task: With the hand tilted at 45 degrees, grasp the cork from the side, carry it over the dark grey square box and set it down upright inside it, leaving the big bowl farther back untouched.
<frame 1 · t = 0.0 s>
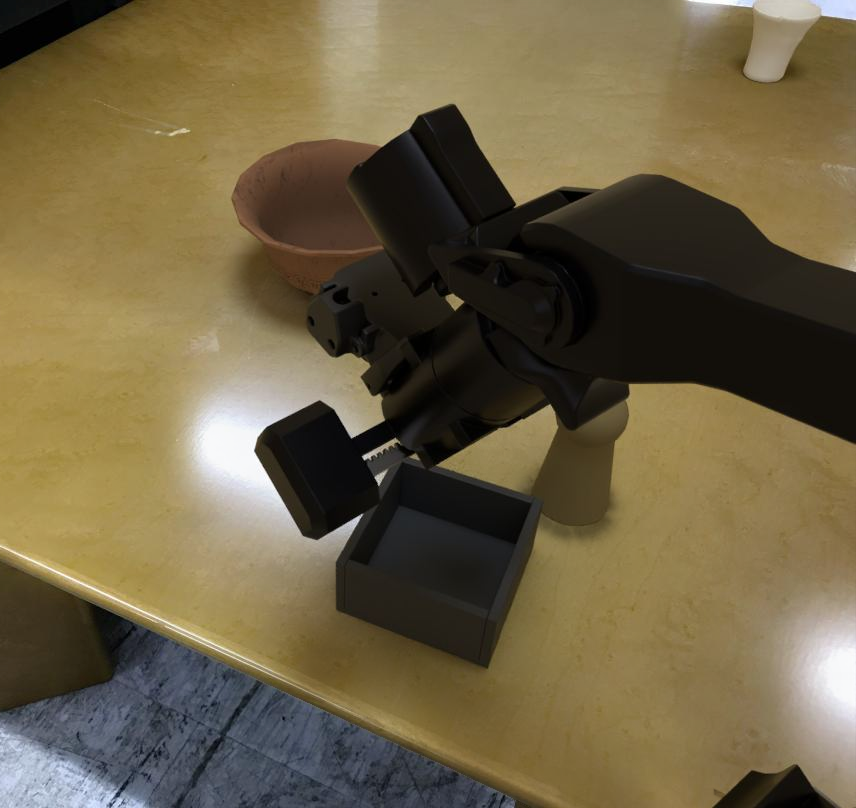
hand: (370, 454, 57), 14 cm above the table, tool tilted 35°, fingers open, 9 cm apart
dark grey square box: (437, 578, 67), on the table
cup: (764, 77, 131), on the table
cork: (569, 498, 72), on the table
bowl: (343, 282, 95), on the table
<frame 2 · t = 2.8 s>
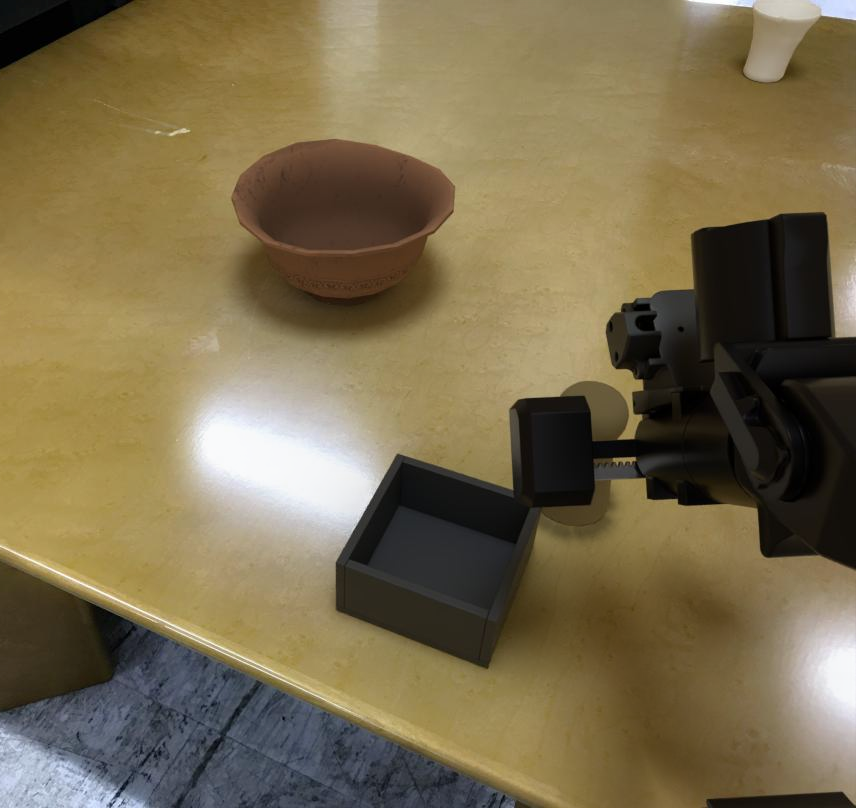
hand: (625, 444, 60), 12 cm above the table, tool tilted 45°, fingers open, 9 cm apart
nothing on the table moved.
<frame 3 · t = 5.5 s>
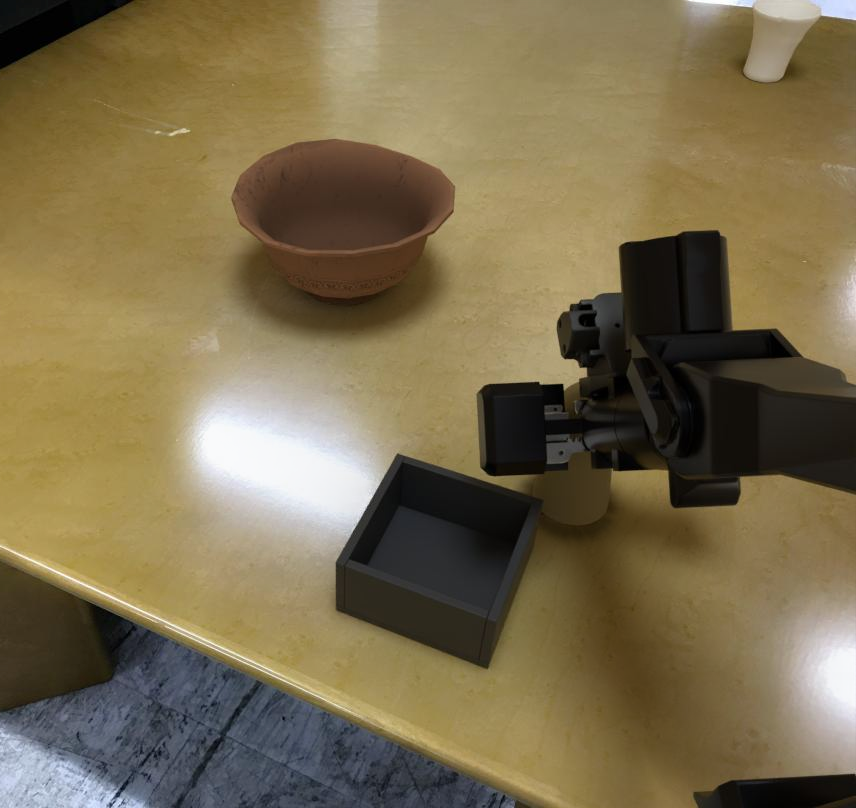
hand: (580, 426, 69), 7 cm above the table, tool tilted 45°, fingers closed on cork, 5 cm apart
cork: (569, 498, 72), on the table, touching gripper
everything else where it was.
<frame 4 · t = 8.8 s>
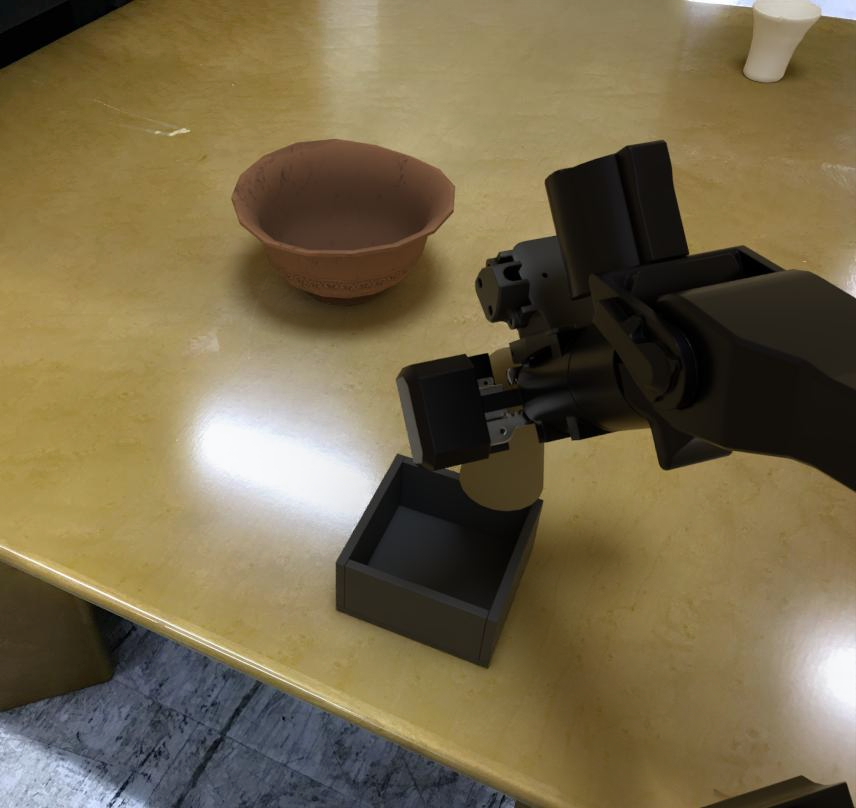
hand: (503, 399, 61), 13 cm above the table, tool tilted 45°, fingers closed on cork, 5 cm apart
cork: (500, 481, 65), point 7 cm above the table, touching gripper
everything else where it was.
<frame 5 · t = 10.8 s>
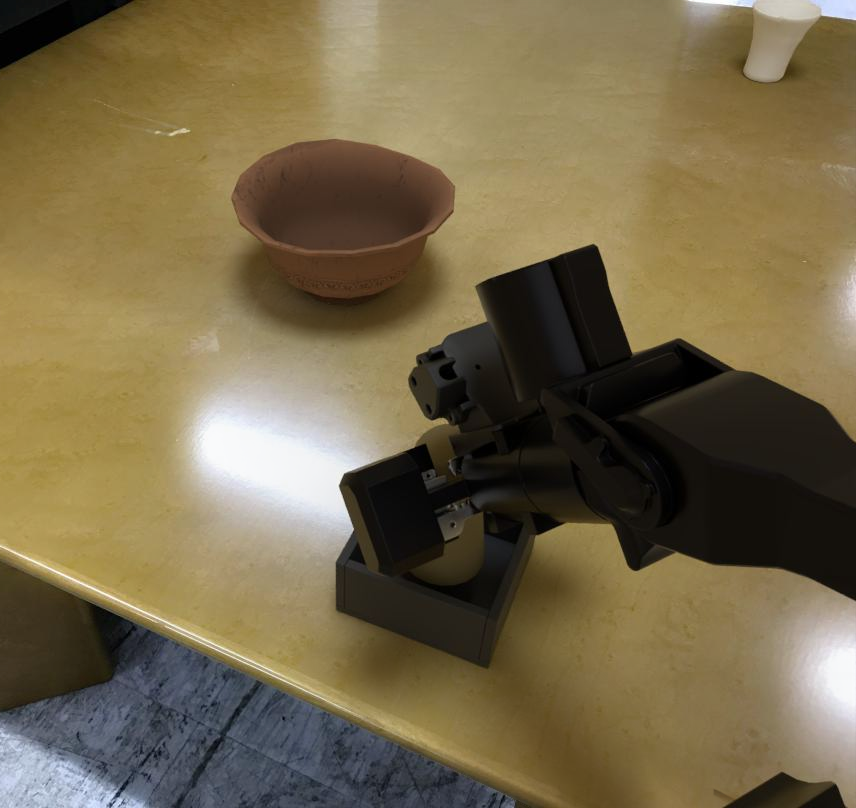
hand: (438, 475, 61), 10 cm above the table, tool tilted 45°, fingers closed on cork, 5 cm apart
cork: (442, 552, 64), point 3 cm above the table, touching gripper
everything else where it was.
when the fingers open (7 cm above the table, at t = 12.1 s): cork stays where it is, resting on dark grey square box.
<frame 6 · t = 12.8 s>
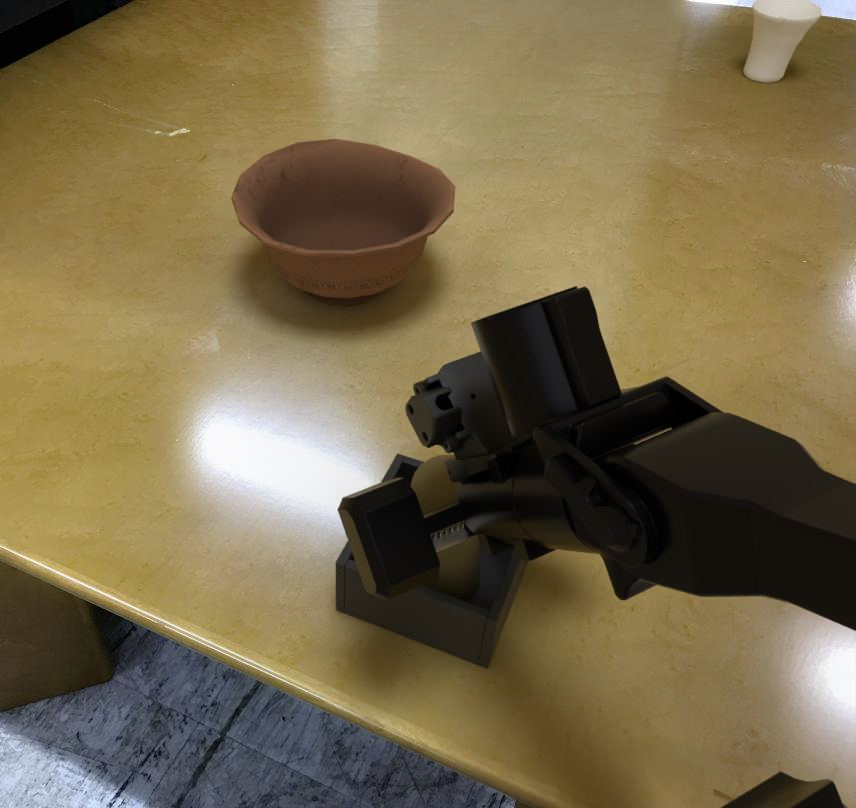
hand: (434, 494, 62), 8 cm above the table, tool tilted 45°, fingers open, 9 cm apart
cork: (438, 576, 66), resting on dark grey square box
everything else where it was.
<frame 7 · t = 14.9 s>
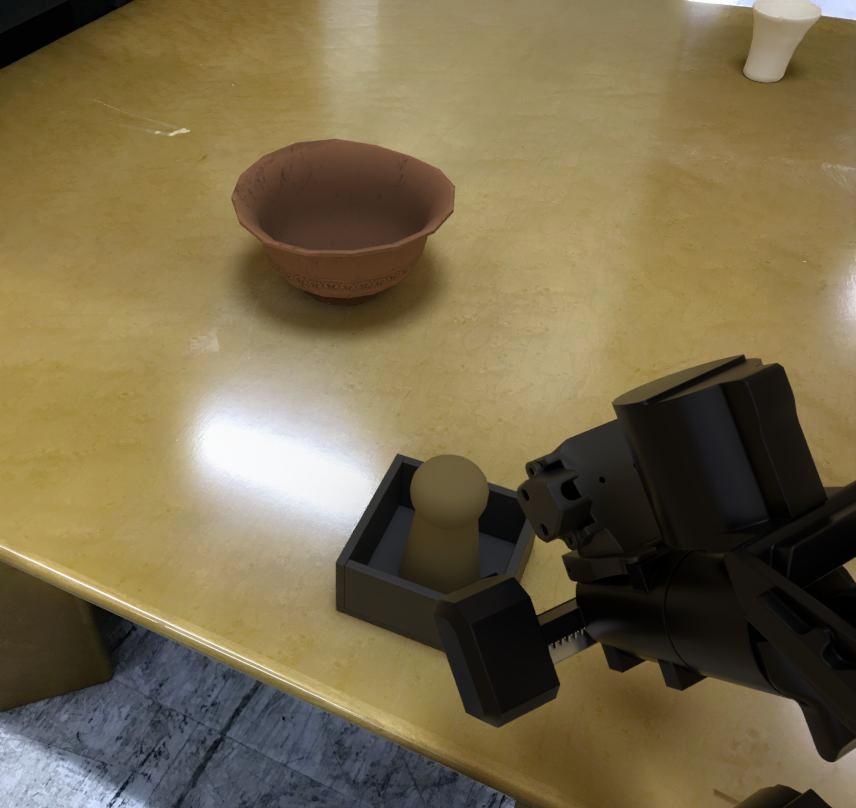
hand: (528, 577, 53), 11 cm above the table, tool tilted 45°, fingers open, 9 cm apart
nothing on the table moved.
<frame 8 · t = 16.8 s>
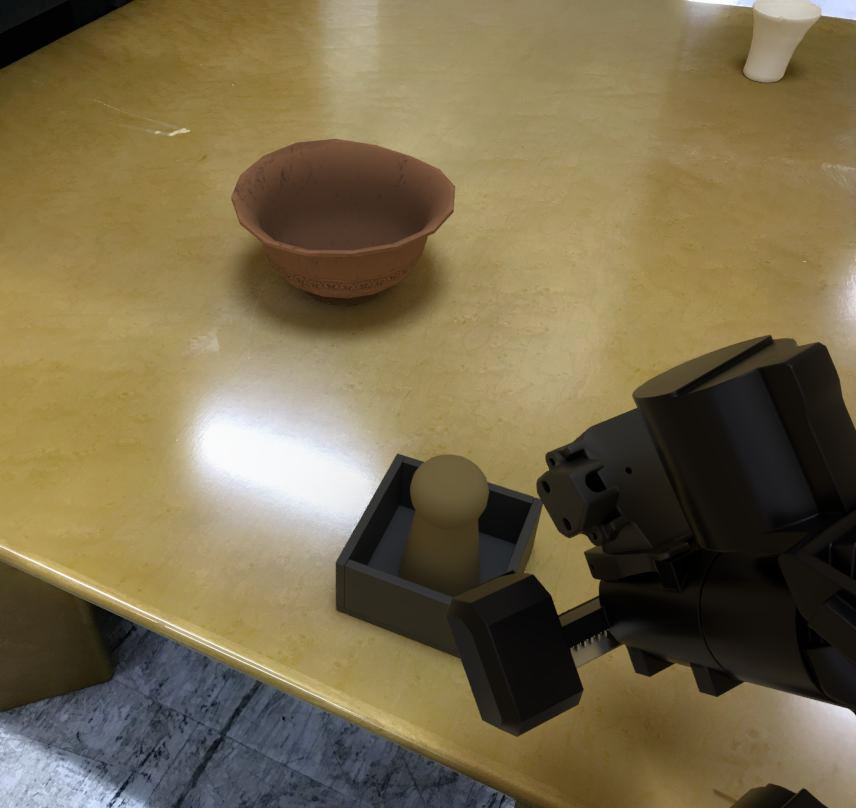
hand: (543, 575, 50), 14 cm above the table, tool tilted 45°, fingers open, 9 cm apart
nothing on the table moved.
at the end: cork inside the target area in the dark grey square box (0.2 cm from its centre), point 0.4 cm above the dark grey square box's base; cork tilted 0°; bowl moved 0.2 cm from its start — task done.
